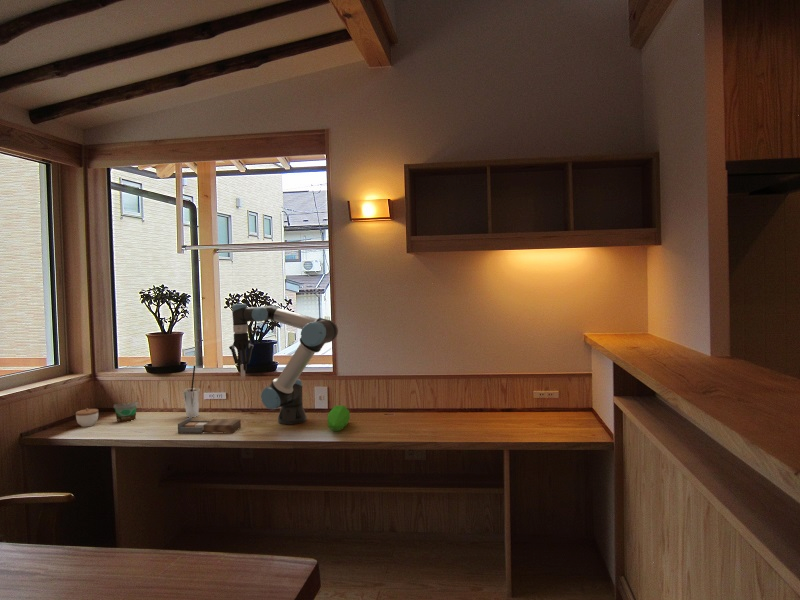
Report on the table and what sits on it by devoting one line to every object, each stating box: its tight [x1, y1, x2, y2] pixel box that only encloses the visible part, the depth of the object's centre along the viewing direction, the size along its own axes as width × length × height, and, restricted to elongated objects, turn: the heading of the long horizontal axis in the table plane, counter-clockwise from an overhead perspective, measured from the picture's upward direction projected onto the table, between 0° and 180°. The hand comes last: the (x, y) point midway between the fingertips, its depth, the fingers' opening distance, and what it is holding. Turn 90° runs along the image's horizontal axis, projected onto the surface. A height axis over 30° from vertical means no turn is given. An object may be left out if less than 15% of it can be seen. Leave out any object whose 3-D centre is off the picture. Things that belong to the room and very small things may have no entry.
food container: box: [113, 400, 139, 423], centre depth 297 cm, size 12×6×10 cm, turn 129°
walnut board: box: [203, 418, 242, 434], centre depth 276 cm, size 15×11×4 cm
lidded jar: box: [75, 407, 99, 428], centre depth 290 cm, size 11×11×9 cm
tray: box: [177, 417, 210, 434], centre depth 278 cm, size 13×13×5 cm
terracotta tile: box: [185, 422, 198, 427], centre depth 278 cm, size 5×5×2 cm
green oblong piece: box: [327, 405, 351, 432], centre depth 273 cm, size 11×12×30 cm
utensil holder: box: [181, 365, 202, 418], centre depth 304 cm, size 11×11×30 cm
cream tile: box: [195, 422, 206, 429], centre depth 277 cm, size 5×5×2 cm
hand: (243, 376), depth 287 cm, fingers closed
